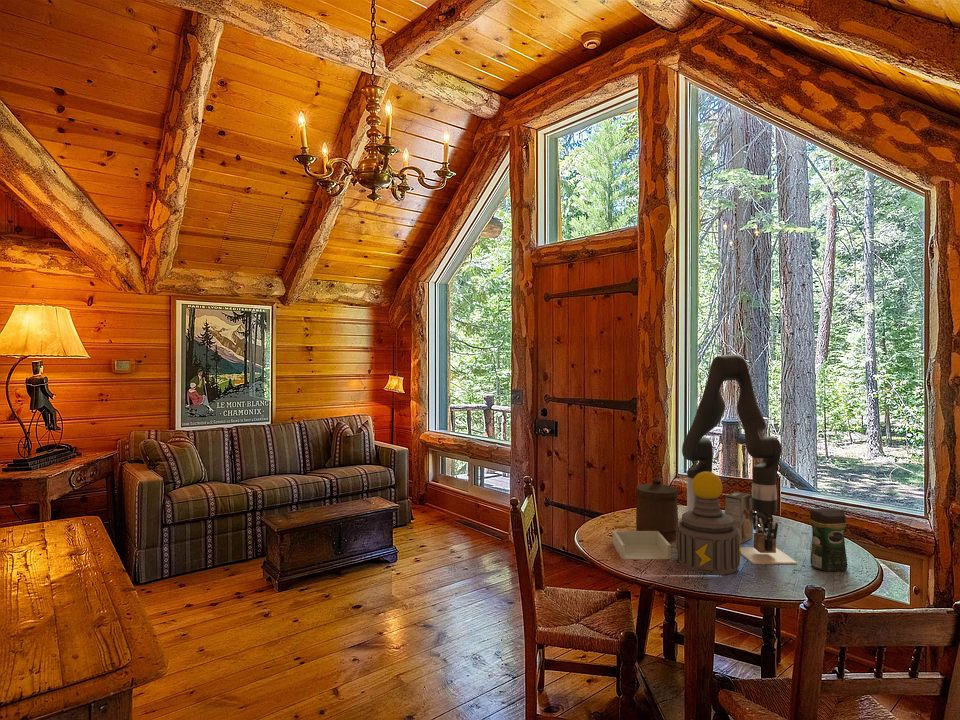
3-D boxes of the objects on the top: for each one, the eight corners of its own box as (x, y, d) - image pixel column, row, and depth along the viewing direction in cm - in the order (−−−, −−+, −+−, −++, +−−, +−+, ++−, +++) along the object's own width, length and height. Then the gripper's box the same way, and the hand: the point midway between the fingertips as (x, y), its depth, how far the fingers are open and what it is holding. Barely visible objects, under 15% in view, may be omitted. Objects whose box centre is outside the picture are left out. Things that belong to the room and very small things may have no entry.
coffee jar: (834, 562, 181) (834, 505, 181) (852, 572, 173) (851, 511, 173) (805, 563, 181) (804, 505, 181) (821, 573, 173) (821, 512, 173)
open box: (612, 544, 201) (612, 530, 201) (658, 544, 200) (658, 530, 200) (621, 560, 186) (621, 545, 186) (670, 560, 185) (670, 545, 185)
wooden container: (672, 531, 215) (672, 473, 215) (682, 544, 201) (682, 482, 201) (633, 530, 217) (632, 473, 217) (640, 543, 202) (639, 482, 202)
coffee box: (735, 533, 211) (735, 491, 211) (753, 537, 206) (753, 494, 206) (724, 539, 205) (724, 495, 205) (742, 543, 200) (741, 498, 200)
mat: (734, 548, 195) (734, 547, 195) (776, 549, 194) (776, 547, 194) (752, 563, 181) (752, 562, 181) (797, 564, 180) (797, 562, 180)
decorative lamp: (737, 581, 168) (736, 480, 167) (671, 570, 177) (670, 474, 177) (742, 560, 184) (741, 468, 184) (682, 551, 193) (681, 464, 193)
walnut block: (753, 547, 190) (753, 532, 190) (768, 547, 190) (768, 532, 190) (760, 552, 185) (760, 537, 185) (775, 552, 185) (775, 537, 185)
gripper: (786, 502, 180) (786, 555, 180) (765, 491, 194) (766, 540, 195) (762, 502, 180) (763, 555, 181) (743, 491, 195) (743, 540, 195)
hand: (764, 547), depth 188 cm, fingers closed on walnut block, 5 cm apart
